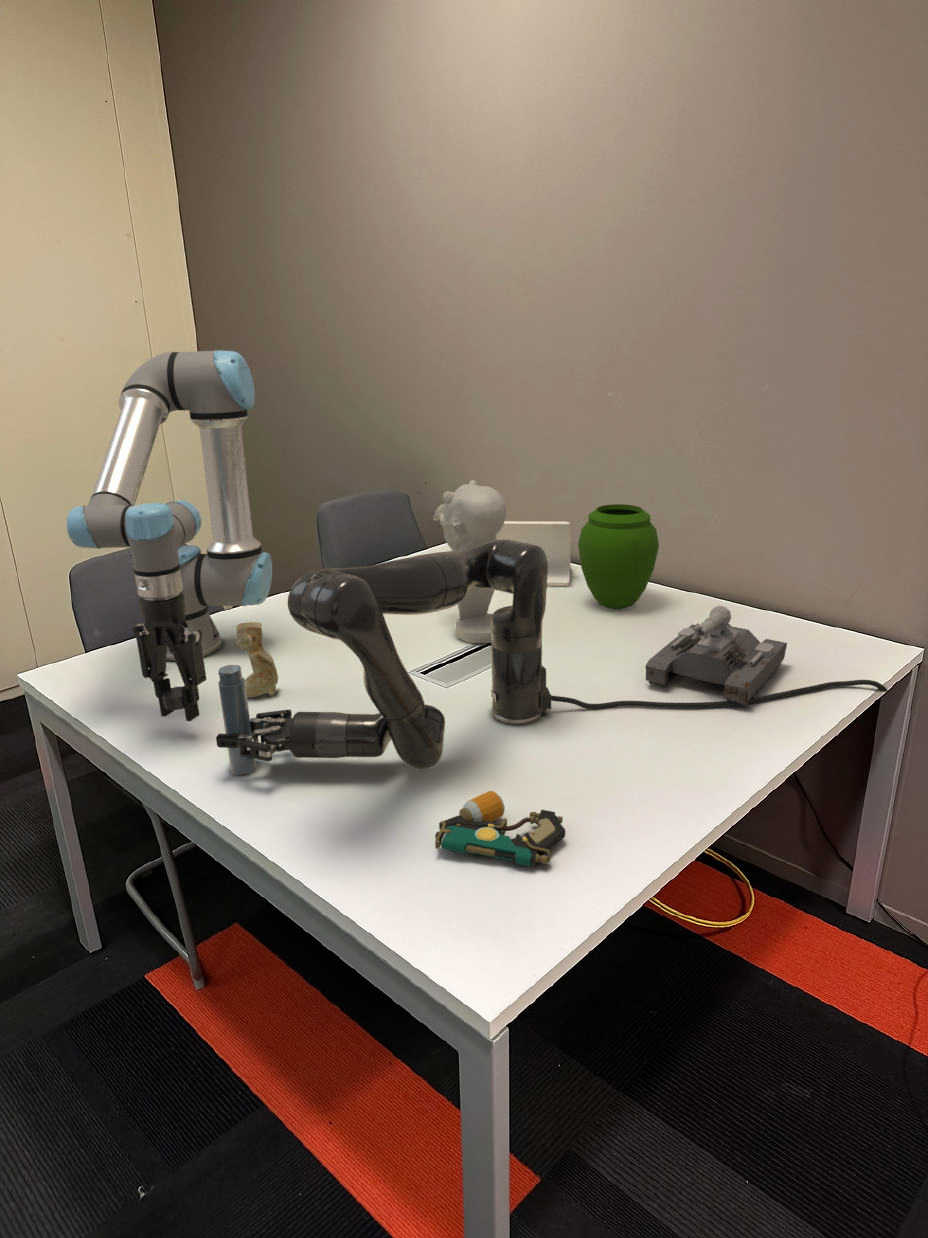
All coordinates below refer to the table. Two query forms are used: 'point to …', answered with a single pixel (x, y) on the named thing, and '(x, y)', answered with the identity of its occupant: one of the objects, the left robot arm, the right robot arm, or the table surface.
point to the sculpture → (257, 660)
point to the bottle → (235, 715)
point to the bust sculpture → (468, 525)
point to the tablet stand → (544, 545)
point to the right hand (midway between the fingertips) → (222, 733)
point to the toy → (718, 657)
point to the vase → (618, 554)
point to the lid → (173, 699)
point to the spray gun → (499, 832)
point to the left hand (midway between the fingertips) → (180, 715)
